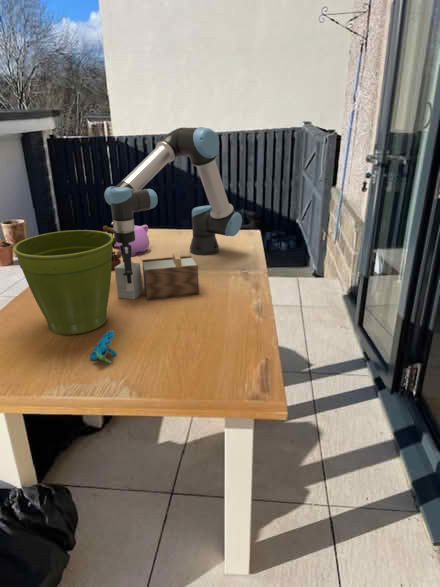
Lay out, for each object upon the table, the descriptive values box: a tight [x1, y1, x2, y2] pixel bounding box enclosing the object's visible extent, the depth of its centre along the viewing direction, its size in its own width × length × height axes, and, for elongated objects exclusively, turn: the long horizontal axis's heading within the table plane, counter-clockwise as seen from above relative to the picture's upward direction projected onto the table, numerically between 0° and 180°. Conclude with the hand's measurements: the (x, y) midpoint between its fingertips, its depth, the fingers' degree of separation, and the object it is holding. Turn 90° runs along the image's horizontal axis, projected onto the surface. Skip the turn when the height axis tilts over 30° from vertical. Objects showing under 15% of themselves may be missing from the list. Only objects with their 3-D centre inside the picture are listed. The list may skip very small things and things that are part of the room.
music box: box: [102, 225, 122, 272], centre depth 193 cm, size 15×11×20 cm
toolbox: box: [141, 255, 200, 301], centre depth 167 cm, size 20×13×12 cm, turn 105°
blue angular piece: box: [89, 330, 118, 365], centre depth 122 cm, size 11×6×10 cm
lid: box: [142, 252, 197, 271], centre depth 165 cm, size 20×11×4 cm, turn 105°
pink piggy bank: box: [115, 224, 150, 257], centre depth 219 cm, size 20×20×15 cm
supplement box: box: [114, 261, 144, 300], centre depth 163 cm, size 7×7×13 cm
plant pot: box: [12, 229, 114, 336], centre depth 138 cm, size 30×30×29 cm
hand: (129, 284), depth 164 cm, fingers open, 13 cm apart
